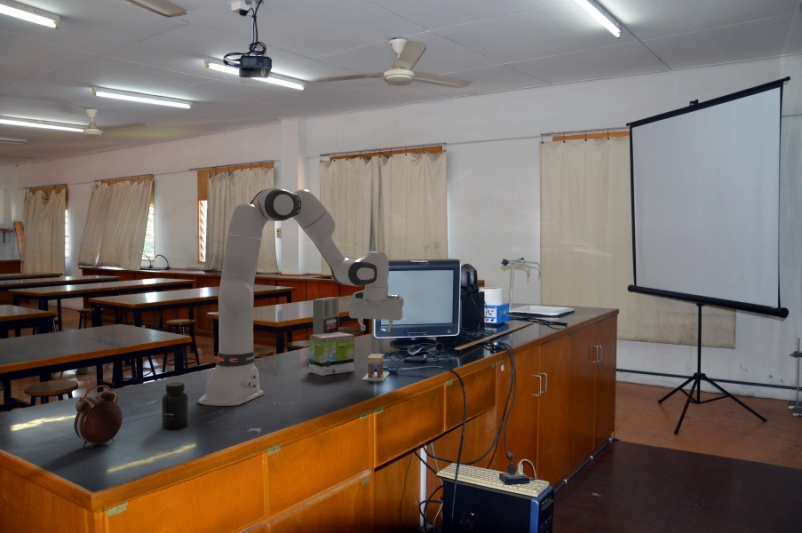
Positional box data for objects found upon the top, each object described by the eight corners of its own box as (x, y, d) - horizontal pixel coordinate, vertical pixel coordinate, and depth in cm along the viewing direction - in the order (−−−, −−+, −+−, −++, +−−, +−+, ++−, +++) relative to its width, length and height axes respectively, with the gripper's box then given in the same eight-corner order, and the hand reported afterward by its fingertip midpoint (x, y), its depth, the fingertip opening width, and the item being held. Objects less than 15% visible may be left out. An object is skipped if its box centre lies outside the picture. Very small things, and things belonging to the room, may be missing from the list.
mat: (383, 381, 223) (383, 379, 223) (362, 380, 224) (362, 378, 224) (389, 374, 235) (389, 372, 235) (369, 373, 236) (369, 371, 236)
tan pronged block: (380, 377, 226) (380, 357, 226) (367, 377, 227) (367, 357, 226) (383, 373, 233) (383, 354, 233) (370, 373, 234) (370, 353, 233)
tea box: (323, 376, 230) (323, 338, 229) (308, 372, 238) (308, 334, 237) (355, 371, 240) (355, 334, 239) (340, 367, 248) (340, 331, 247)
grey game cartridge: (324, 356, 270) (324, 300, 269) (312, 355, 272) (312, 299, 271) (340, 351, 282) (340, 297, 281) (329, 350, 285) (329, 297, 284)
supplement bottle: (162, 432, 163) (161, 387, 163) (161, 424, 169) (160, 382, 169) (189, 429, 166) (188, 385, 165) (187, 422, 172) (187, 380, 172)
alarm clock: (112, 437, 159) (111, 380, 158) (124, 440, 156) (123, 382, 156) (72, 449, 149) (71, 389, 149) (84, 453, 147) (82, 391, 146)
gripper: (404, 294, 230) (403, 331, 231) (352, 292, 233) (351, 328, 234) (402, 296, 224) (401, 333, 224) (348, 293, 227) (347, 330, 227)
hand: (375, 331), depth 229 cm, fingers open, 8 cm apart
